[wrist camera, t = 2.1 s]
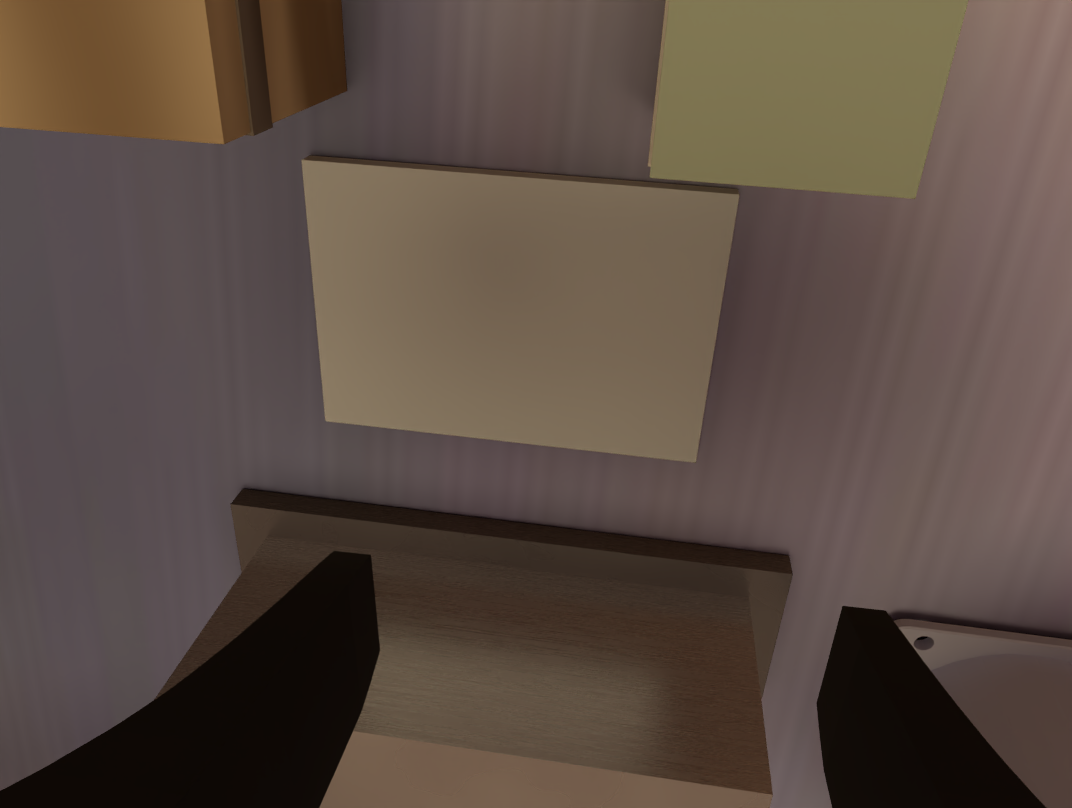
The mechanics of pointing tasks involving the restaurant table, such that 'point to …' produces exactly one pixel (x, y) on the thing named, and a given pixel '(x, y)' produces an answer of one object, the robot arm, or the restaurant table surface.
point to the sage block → (802, 92)
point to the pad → (517, 303)
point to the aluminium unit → (530, 657)
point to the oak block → (167, 65)
